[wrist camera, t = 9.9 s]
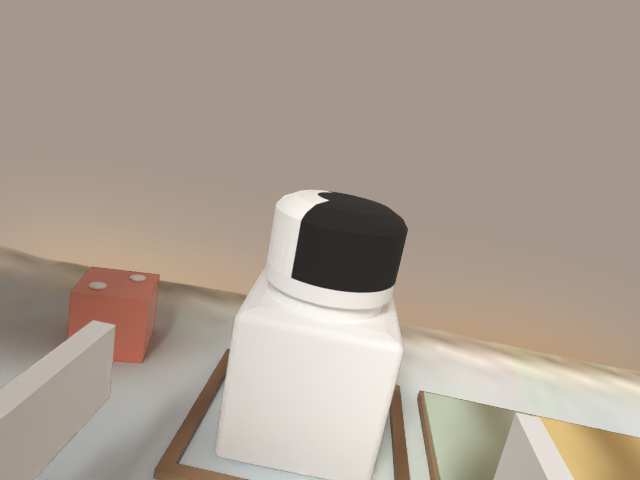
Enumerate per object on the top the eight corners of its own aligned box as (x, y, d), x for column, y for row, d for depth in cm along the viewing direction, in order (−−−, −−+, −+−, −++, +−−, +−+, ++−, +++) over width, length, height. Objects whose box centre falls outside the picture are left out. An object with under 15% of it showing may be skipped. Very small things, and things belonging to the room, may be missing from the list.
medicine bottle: (366, 401, 29) (414, 200, 26) (369, 493, 22) (435, 233, 19) (246, 376, 29) (279, 174, 26) (211, 459, 22) (250, 197, 19)
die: (66, 358, 28) (70, 290, 26) (87, 325, 31) (92, 265, 30) (141, 364, 28) (148, 298, 27) (153, 332, 32) (159, 273, 31)
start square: (153, 477, 20) (154, 469, 20) (226, 354, 31) (227, 348, 31) (412, 537, 20) (415, 529, 20) (398, 391, 30) (399, 385, 30)
